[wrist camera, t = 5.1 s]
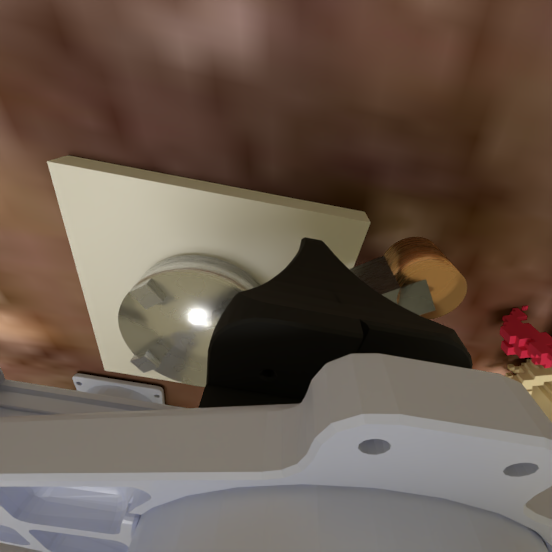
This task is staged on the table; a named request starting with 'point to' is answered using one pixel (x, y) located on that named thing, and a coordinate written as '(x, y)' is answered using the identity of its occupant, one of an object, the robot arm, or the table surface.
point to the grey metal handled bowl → (231, 279)
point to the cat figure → (530, 343)
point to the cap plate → (179, 234)
